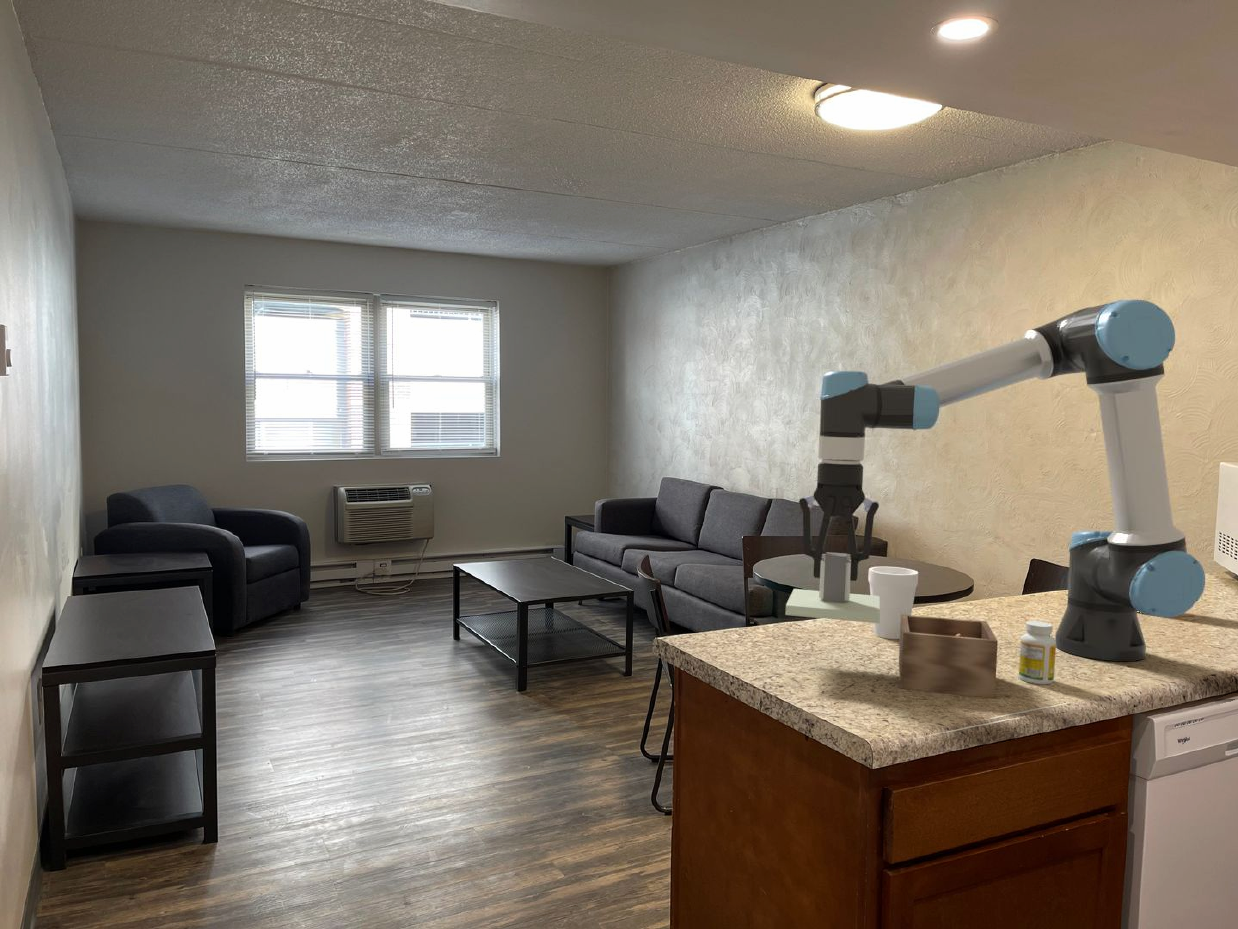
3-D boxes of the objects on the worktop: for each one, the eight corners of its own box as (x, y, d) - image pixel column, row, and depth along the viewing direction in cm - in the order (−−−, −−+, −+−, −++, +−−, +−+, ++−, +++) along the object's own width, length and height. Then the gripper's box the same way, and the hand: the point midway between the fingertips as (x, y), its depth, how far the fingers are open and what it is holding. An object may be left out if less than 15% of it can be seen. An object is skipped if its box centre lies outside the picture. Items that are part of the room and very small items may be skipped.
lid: (879, 604, 157) (881, 551, 156) (879, 623, 142) (882, 564, 142) (793, 597, 161) (795, 545, 160) (785, 614, 146) (787, 557, 146)
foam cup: (921, 634, 177) (924, 570, 176) (906, 643, 170) (909, 577, 169) (875, 627, 183) (878, 564, 182) (859, 635, 175) (861, 570, 175)
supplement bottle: (1029, 685, 145) (1032, 627, 144) (1012, 675, 150) (1015, 620, 150) (1060, 685, 145) (1063, 627, 145) (1042, 675, 151) (1045, 620, 150)
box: (984, 673, 151) (986, 621, 151) (994, 698, 138) (997, 641, 137) (898, 665, 155) (900, 614, 154) (900, 688, 142) (903, 633, 141)
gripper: (891, 463, 151) (884, 598, 153) (793, 459, 156) (787, 590, 157) (892, 465, 144) (884, 607, 146) (789, 460, 149) (783, 598, 150)
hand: (834, 597), depth 151 cm, fingers closed on lid, 3 cm apart
